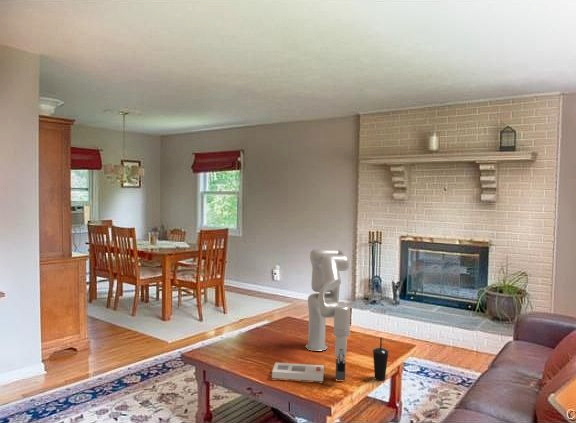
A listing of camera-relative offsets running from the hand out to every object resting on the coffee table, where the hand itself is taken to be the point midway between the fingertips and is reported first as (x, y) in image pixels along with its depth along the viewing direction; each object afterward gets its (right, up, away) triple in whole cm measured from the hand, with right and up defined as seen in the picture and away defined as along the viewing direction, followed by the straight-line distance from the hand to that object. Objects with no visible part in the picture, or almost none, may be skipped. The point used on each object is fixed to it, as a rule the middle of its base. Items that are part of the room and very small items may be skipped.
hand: (340, 367), depth 215 cm
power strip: (-20, -5, +3) cm, 21 cm away
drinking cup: (+19, -6, +3) cm, 20 cm away
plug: (0, -6, +1) cm, 6 cm away
